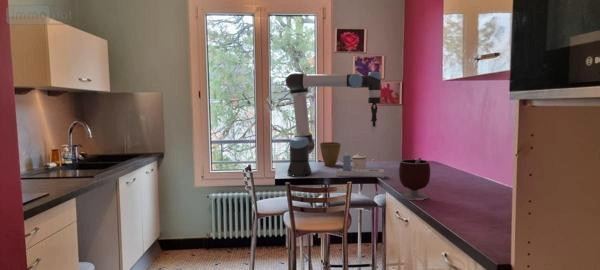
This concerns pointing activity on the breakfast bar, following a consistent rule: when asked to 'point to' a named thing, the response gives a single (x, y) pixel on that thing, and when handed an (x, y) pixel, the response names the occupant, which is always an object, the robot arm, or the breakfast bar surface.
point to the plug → (346, 162)
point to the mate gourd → (414, 177)
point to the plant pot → (330, 152)
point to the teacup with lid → (359, 161)
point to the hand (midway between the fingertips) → (373, 131)
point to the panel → (361, 173)
